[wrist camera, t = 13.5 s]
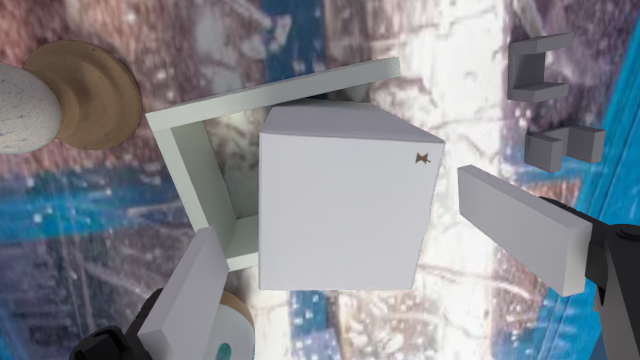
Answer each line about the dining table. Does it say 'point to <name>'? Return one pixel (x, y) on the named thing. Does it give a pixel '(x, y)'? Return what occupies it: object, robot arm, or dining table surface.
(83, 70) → the candle holder
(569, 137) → the clip
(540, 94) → the clip
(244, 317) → the vase
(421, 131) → the supplement box
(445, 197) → the dining table surface
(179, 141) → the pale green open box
